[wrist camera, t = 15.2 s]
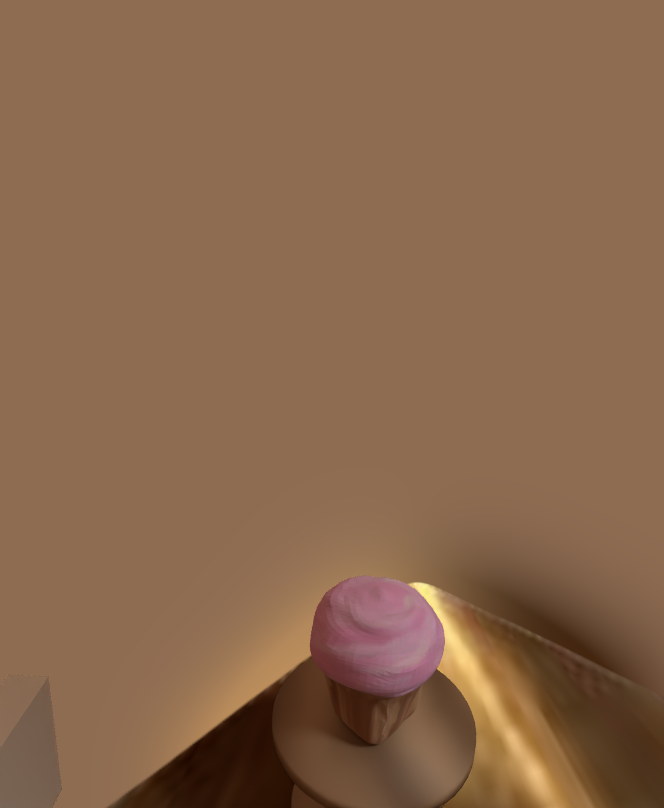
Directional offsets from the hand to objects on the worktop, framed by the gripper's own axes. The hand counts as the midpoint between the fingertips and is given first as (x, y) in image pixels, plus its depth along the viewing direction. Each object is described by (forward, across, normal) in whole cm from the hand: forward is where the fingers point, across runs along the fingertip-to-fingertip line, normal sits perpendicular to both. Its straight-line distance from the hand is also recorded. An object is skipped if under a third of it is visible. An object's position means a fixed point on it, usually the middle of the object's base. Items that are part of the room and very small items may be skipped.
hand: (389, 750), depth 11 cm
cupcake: (+24, +2, -23) cm, 33 cm away
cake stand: (+24, +2, -32) cm, 40 cm away
